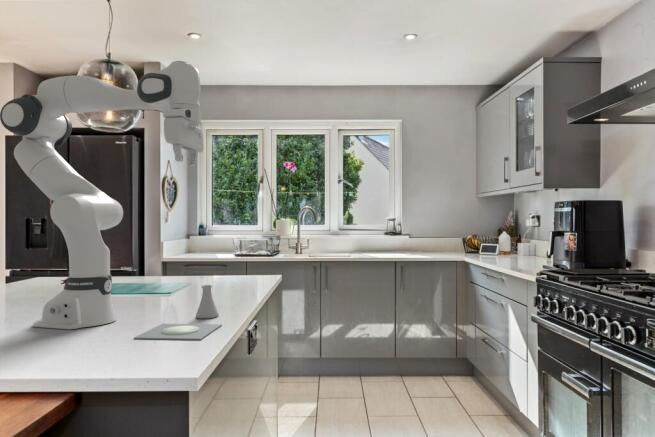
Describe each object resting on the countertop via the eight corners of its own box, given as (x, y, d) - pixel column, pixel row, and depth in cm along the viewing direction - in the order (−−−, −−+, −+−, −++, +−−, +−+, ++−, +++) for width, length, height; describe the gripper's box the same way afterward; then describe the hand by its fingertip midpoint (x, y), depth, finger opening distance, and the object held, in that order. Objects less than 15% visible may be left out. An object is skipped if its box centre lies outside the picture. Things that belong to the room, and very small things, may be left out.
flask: (212, 319, 139) (212, 287, 139) (191, 318, 141) (190, 287, 141) (222, 314, 146) (222, 284, 147) (202, 314, 148) (201, 283, 148)
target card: (133, 339, 117) (133, 336, 117) (162, 324, 133) (162, 322, 133) (200, 340, 115) (200, 337, 115) (221, 325, 131) (221, 323, 131)
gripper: (189, 124, 145) (189, 167, 145) (159, 109, 125) (160, 159, 125) (208, 124, 144) (208, 167, 144) (181, 108, 124) (181, 158, 124)
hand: (185, 163), depth 134 cm, fingers open, 8 cm apart
